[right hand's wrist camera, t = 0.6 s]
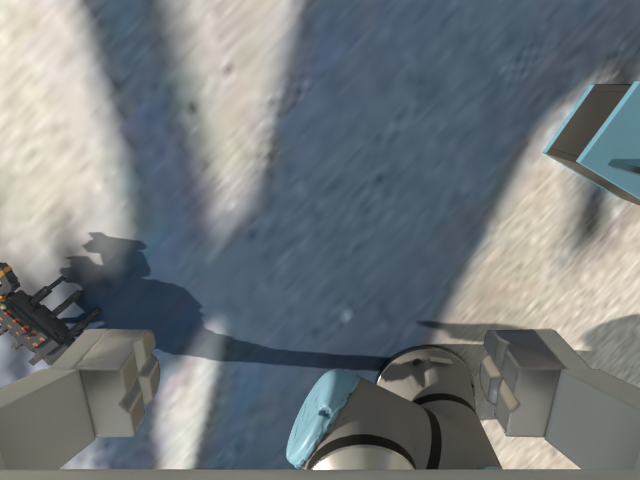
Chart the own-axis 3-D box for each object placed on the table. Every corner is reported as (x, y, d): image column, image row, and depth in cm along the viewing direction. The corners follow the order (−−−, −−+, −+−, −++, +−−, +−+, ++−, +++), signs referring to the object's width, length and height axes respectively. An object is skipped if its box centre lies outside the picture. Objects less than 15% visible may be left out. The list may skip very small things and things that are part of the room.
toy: (85, 394, 68) (6, 499, 51) (-56, 273, 61) (-204, 349, 44) (144, 351, 66) (82, 448, 48) (3, 220, 58) (-129, 278, 41)
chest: (542, 152, 55) (581, 165, 47) (590, 84, 52) (641, 85, 44) (617, 197, 57) (667, 216, 49) (668, 133, 54) (730, 143, 46)
